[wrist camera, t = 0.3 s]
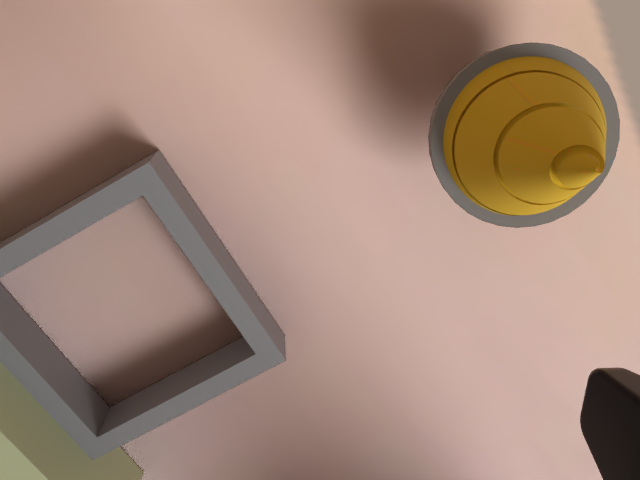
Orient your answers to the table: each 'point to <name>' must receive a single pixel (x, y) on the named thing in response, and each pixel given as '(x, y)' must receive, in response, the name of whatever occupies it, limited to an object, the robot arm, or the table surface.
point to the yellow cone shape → (524, 134)
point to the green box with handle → (67, 383)
